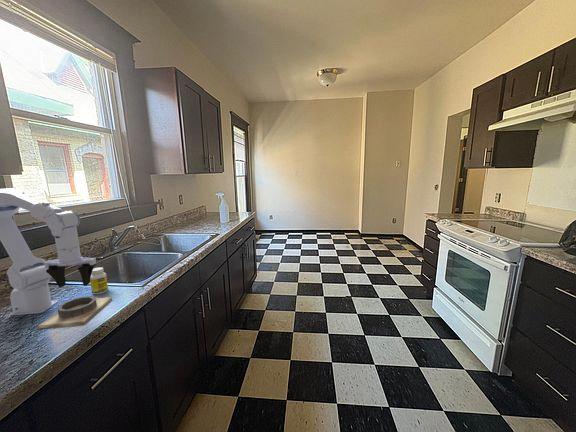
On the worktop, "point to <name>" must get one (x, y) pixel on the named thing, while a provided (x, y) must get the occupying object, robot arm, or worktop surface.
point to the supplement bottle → (98, 281)
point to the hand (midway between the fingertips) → (74, 285)
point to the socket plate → (76, 319)
